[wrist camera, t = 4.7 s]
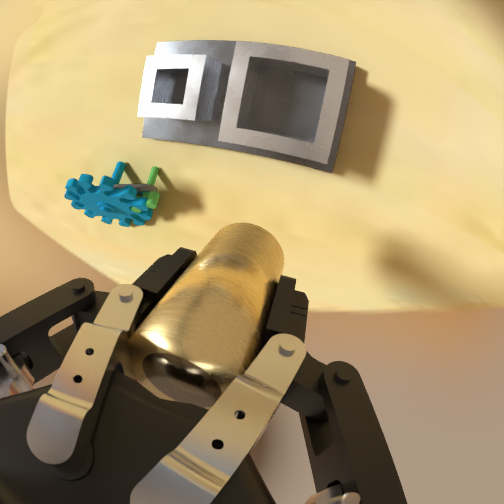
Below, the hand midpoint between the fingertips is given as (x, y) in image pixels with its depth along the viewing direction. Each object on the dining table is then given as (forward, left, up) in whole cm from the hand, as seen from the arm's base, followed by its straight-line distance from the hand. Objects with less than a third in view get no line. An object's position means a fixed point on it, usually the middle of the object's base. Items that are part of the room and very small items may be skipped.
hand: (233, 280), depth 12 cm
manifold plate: (-9, -5, -14) cm, 17 cm away
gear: (+3, -16, -14) cm, 21 cm away
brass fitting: (0, 0, -2) cm, 2 cm away
